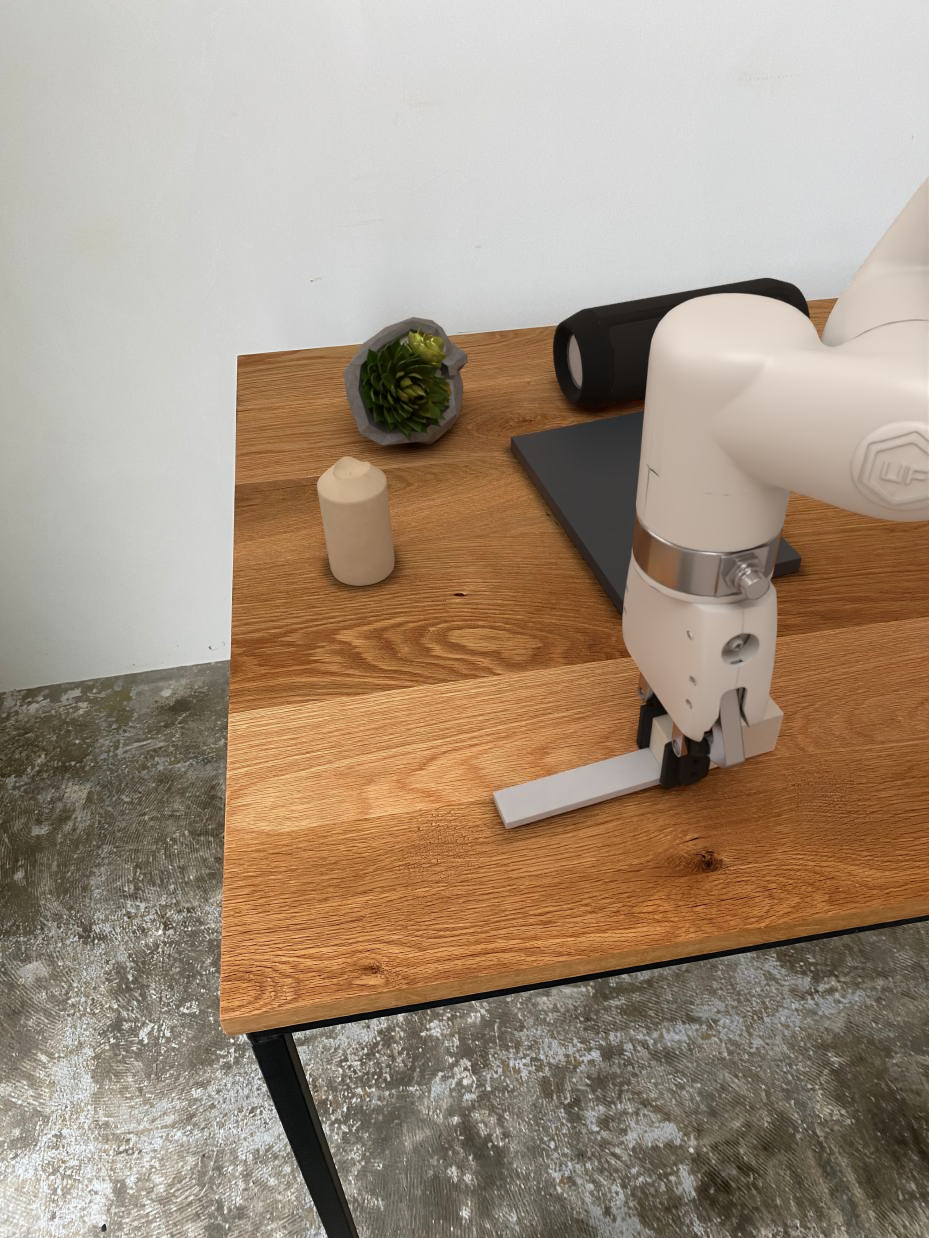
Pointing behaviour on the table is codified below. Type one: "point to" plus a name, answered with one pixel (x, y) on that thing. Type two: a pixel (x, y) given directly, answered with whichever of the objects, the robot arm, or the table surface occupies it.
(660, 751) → the white stepped bar
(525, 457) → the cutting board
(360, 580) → the candle
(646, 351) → the portable speaker
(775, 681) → the table surface
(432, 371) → the potted plant
